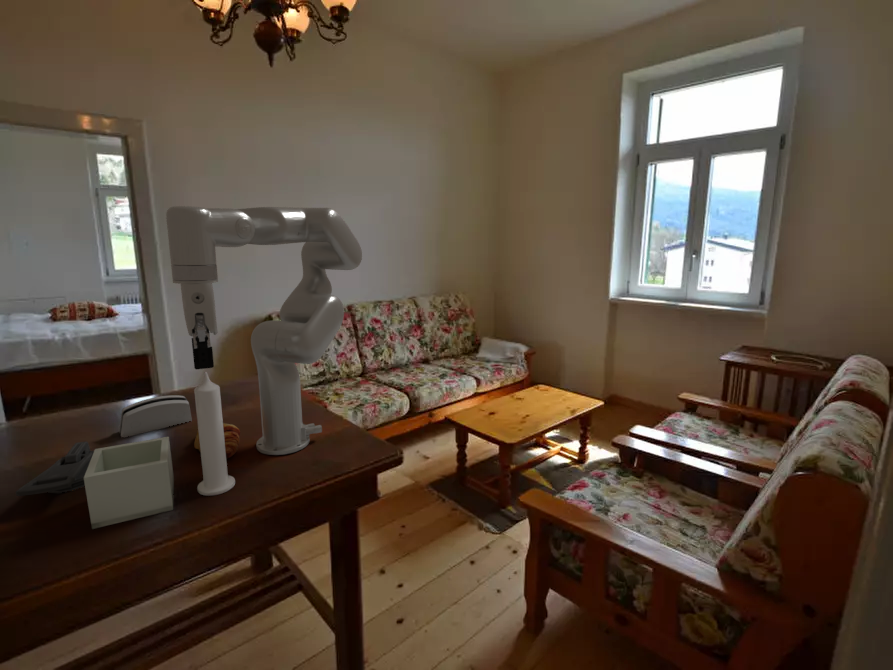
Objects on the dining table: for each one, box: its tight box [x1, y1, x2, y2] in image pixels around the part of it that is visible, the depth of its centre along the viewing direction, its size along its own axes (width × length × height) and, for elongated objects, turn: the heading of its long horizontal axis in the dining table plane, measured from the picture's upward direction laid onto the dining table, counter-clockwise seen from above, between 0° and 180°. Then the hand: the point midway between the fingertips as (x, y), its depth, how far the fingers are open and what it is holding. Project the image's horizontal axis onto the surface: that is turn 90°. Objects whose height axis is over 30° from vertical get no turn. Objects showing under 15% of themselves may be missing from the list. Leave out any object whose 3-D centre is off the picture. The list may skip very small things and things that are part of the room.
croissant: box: [193, 422, 241, 460], centre depth 112 cm, size 21×10×8 cm, turn 40°
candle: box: [193, 371, 236, 497], centre depth 92 cm, size 7×7×25 cm
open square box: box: [84, 436, 175, 530], centre depth 88 cm, size 12×12×10 cm
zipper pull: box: [15, 441, 95, 497], centre depth 93 cm, size 9×7×25 cm
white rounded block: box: [118, 394, 193, 438], centre depth 122 cm, size 17×5×10 cm, turn 134°
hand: (203, 362), depth 89 cm, fingers open, 9 cm apart
